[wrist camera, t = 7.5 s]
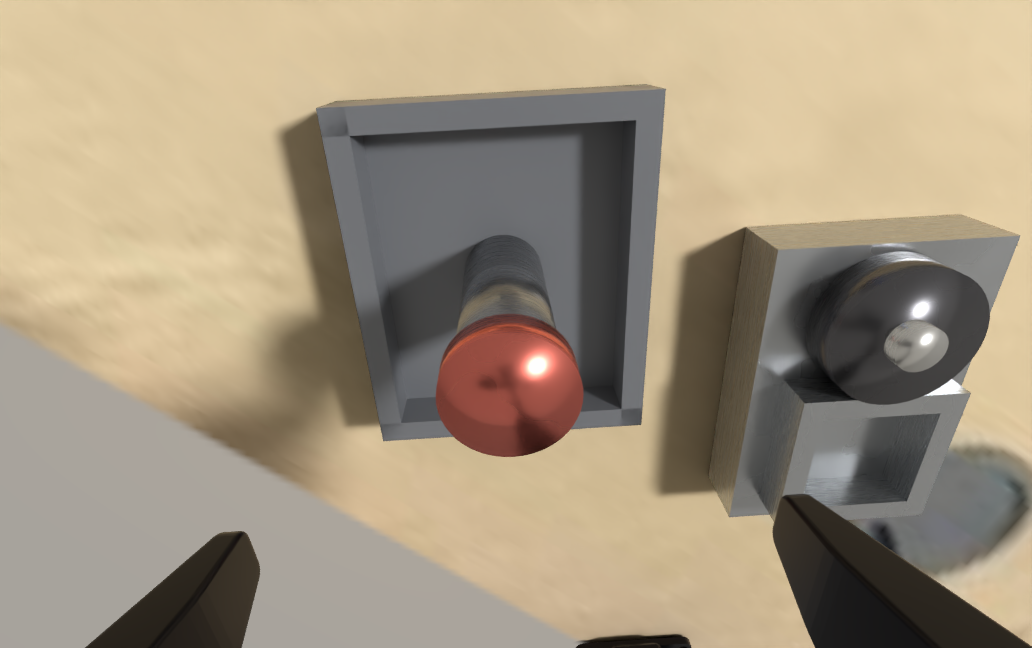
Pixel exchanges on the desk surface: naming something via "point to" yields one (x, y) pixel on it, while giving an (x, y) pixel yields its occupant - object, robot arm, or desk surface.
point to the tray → (498, 229)
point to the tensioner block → (852, 360)
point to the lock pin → (507, 357)
